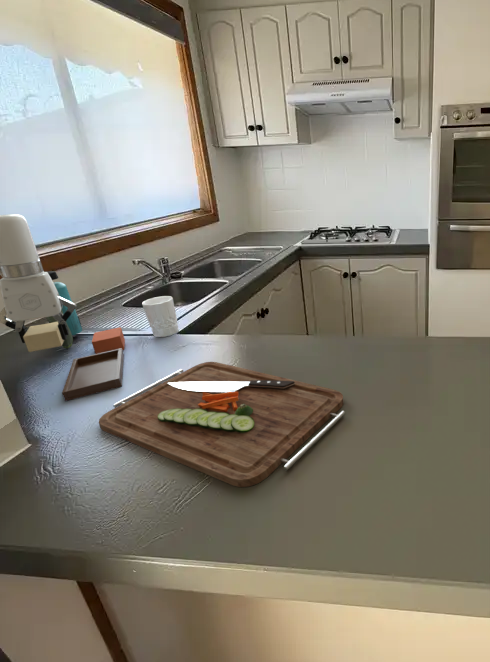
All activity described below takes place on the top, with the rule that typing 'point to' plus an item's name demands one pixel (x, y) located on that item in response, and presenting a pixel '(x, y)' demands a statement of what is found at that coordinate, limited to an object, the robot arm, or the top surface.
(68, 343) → the vegetable
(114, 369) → the tray
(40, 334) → the beige pad
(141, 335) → the top surface
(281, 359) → the top surface
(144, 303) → the white cup
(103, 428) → the chopping board
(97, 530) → the top surface
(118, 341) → the terracotta pad
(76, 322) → the beverage bottle
